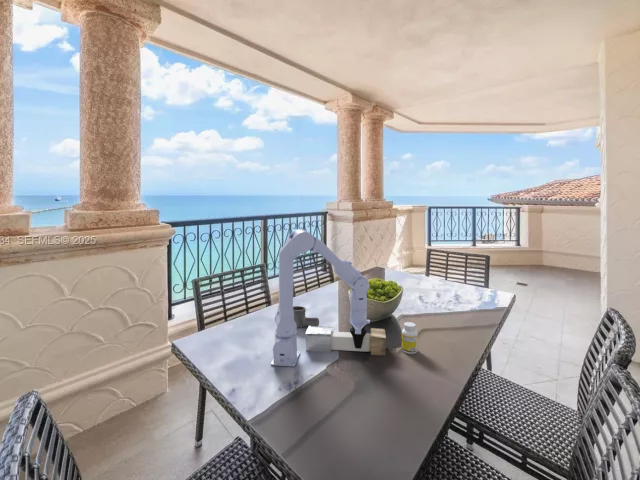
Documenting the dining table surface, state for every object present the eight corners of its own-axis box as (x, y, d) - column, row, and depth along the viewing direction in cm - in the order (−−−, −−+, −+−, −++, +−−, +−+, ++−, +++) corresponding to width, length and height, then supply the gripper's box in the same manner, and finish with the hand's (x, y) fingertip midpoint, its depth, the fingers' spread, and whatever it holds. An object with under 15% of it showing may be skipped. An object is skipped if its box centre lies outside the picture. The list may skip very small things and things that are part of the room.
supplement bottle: (405, 345, 118) (406, 319, 116) (419, 350, 114) (420, 323, 113) (398, 351, 113) (399, 324, 112) (413, 355, 110) (414, 328, 109)
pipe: (317, 330, 132) (316, 311, 131) (287, 328, 134) (286, 309, 133) (320, 324, 138) (319, 306, 136) (291, 322, 140) (291, 304, 139)
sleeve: (330, 352, 113) (330, 334, 112) (305, 350, 114) (305, 333, 113) (332, 343, 120) (332, 327, 119) (309, 342, 121) (308, 326, 120)
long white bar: (371, 351, 113) (371, 338, 112) (322, 349, 115) (322, 335, 114) (370, 346, 116) (370, 333, 116) (324, 344, 119) (323, 331, 118)
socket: (385, 355, 110) (385, 337, 109) (370, 354, 111) (371, 336, 110) (384, 345, 117) (384, 328, 117) (370, 345, 118) (370, 328, 117)
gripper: (370, 316, 105) (370, 355, 107) (369, 301, 120) (369, 336, 122) (348, 315, 106) (348, 354, 108) (350, 301, 121) (350, 335, 122)
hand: (358, 344), depth 115 cm, fingers closed on long white bar, 4 cm apart
